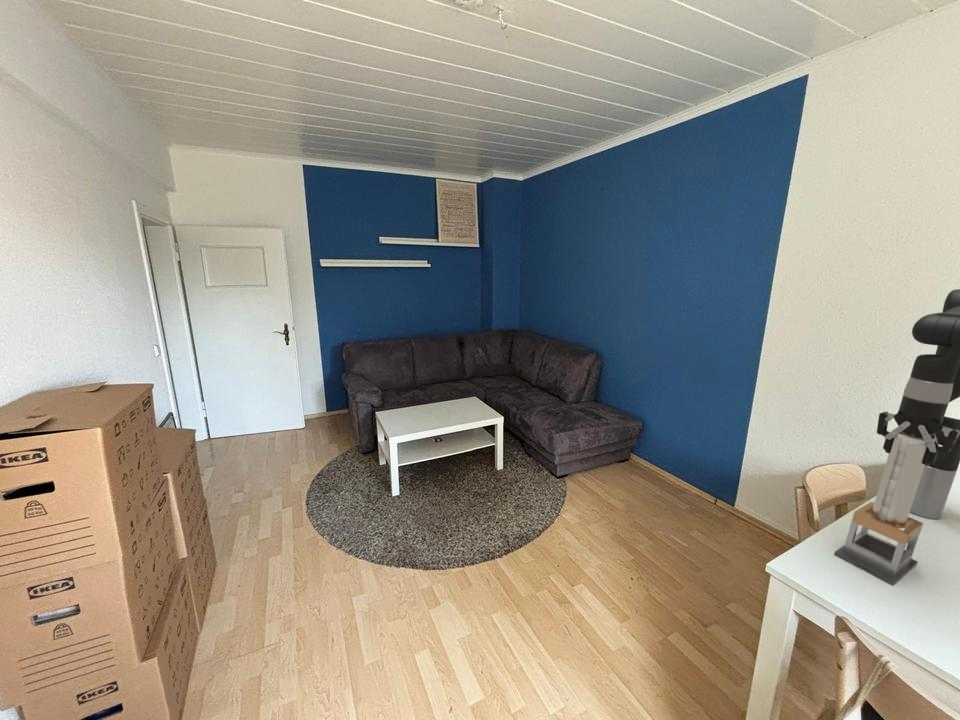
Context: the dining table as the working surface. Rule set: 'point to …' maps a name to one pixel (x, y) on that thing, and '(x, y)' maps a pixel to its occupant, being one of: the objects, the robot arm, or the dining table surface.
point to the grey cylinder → (900, 480)
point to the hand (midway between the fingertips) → (906, 457)
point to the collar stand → (880, 546)
